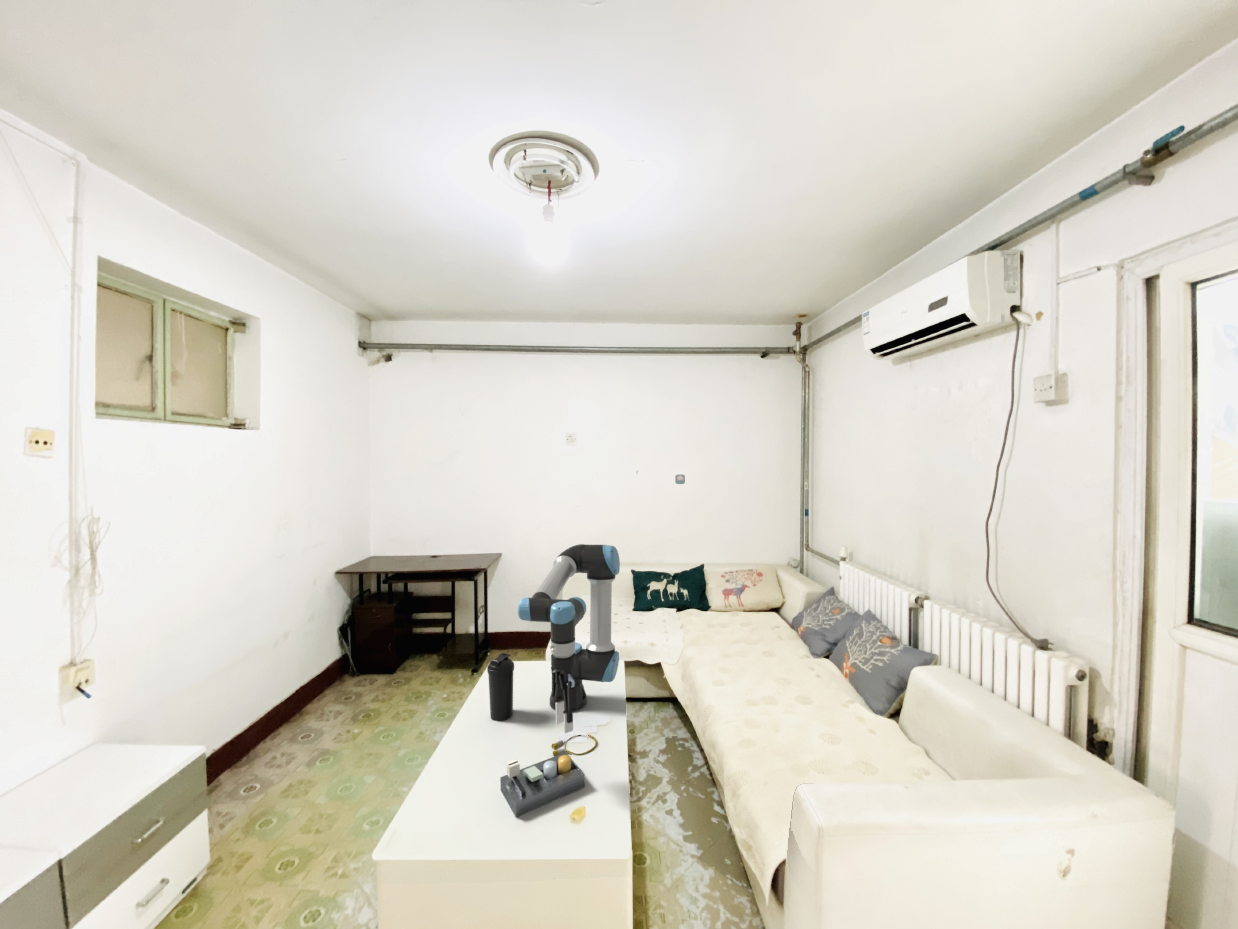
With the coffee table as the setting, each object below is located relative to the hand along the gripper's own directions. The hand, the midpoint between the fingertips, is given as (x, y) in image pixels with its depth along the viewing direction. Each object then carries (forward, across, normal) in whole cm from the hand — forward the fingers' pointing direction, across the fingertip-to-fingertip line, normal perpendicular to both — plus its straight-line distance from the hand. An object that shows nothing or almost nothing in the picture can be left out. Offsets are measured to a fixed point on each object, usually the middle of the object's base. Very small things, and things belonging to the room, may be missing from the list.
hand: (564, 726), depth 149 cm
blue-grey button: (+14, 0, -5) cm, 15 cm away
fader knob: (+11, -3, -15) cm, 19 cm away
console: (+17, 0, -8) cm, 18 cm away
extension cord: (+18, -14, +10) cm, 25 cm away
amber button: (+14, 0, 0) cm, 14 cm away
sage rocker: (+11, 0, -10) cm, 15 cm away
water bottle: (+17, -47, -4) cm, 50 cm away
